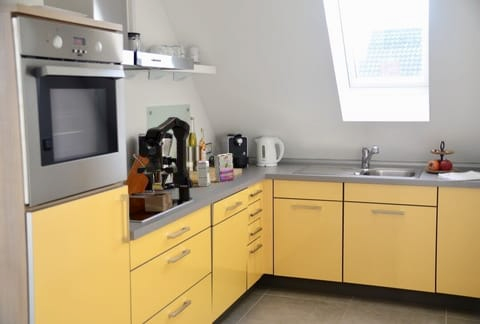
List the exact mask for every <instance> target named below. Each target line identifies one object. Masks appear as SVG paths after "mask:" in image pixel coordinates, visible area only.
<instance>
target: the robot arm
mask: <svg viewBox="0 0 480 324" xmlns="http://www.w3.org/2000/svg"><path fill="white" fill-rule="evenodd" d="M170 130H171V131H172V135H173V137H174V138H175V140H176V145H175V146H176V147H175V149H176V150H175V151H176V153H175V154H176V165H168V166H166V167H165V166H164V164H163V159H164V156H163V147H162V146H164V144H165V143H164V142H163V139H164V138H165V136H166V133H168V132H169V131H170ZM190 130H191V126H190V124H189V123H188V122H187V121H185V120H182V119H180V118H179V117H177V116H170V117H168V118H167V119H165V120H164V121H163V122H161V124H159V125H157V126H154V127H150V128H148V129H147V130H146V133H145V135H144V138H143V141H142V143H141V146H139V148H138V154H139V156H140V157H141V158H148V162H147V163H146V165H143V166H138V167H137V168H136V174H138V175H139V174H142V175H143V176H145V177H146V178H147V179H148V181H149V184H150V186H151V189H153V186H152V184H154V183H155V180H154V178H155V177H154V174H155V173H157V172H162V173H161V174H160V176H161V183H162V188H163V189H164V188H165V185H166V183H167V181H168V178H169V175H172V183H173V187H174V189H178V191H177V192H178V198H176V201H190V200H192V199H193V197H191V190H190V189H193V188H194V181H193V180H192V179H191V177H190V175H191V174H190V172H189V170H188V169H187V139H188V137H189V135H190Z"/></svg>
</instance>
